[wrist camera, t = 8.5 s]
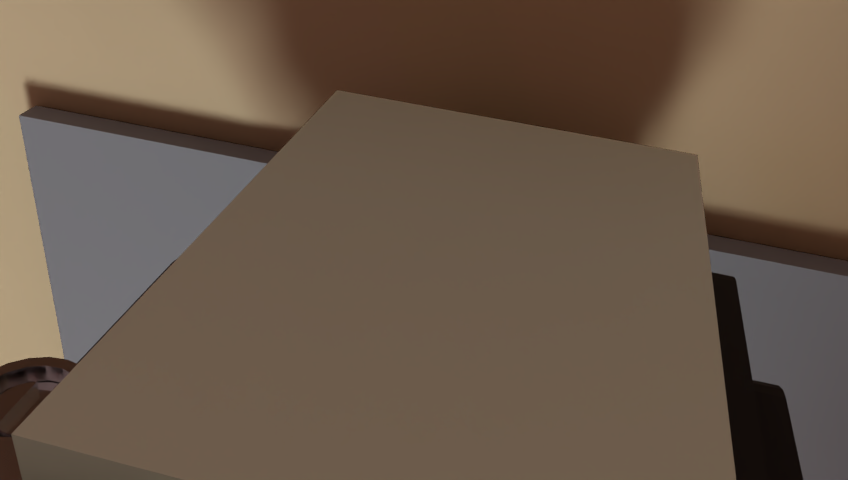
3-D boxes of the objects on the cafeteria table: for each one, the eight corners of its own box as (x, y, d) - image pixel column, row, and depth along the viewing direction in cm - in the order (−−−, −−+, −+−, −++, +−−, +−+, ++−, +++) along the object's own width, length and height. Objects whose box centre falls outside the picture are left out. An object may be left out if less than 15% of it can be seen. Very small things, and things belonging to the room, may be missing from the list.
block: (697, 154, 11) (754, 630, 5) (615, 429, 13) (589, 950, 8) (337, 90, 11) (10, 433, 6) (327, 361, 14) (97, 788, 8)
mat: (1074, 304, 13) (1089, 323, 12) (811, 717, 19) (814, 739, 19) (36, 105, 15) (19, 115, 15) (109, 524, 22) (98, 539, 21)
